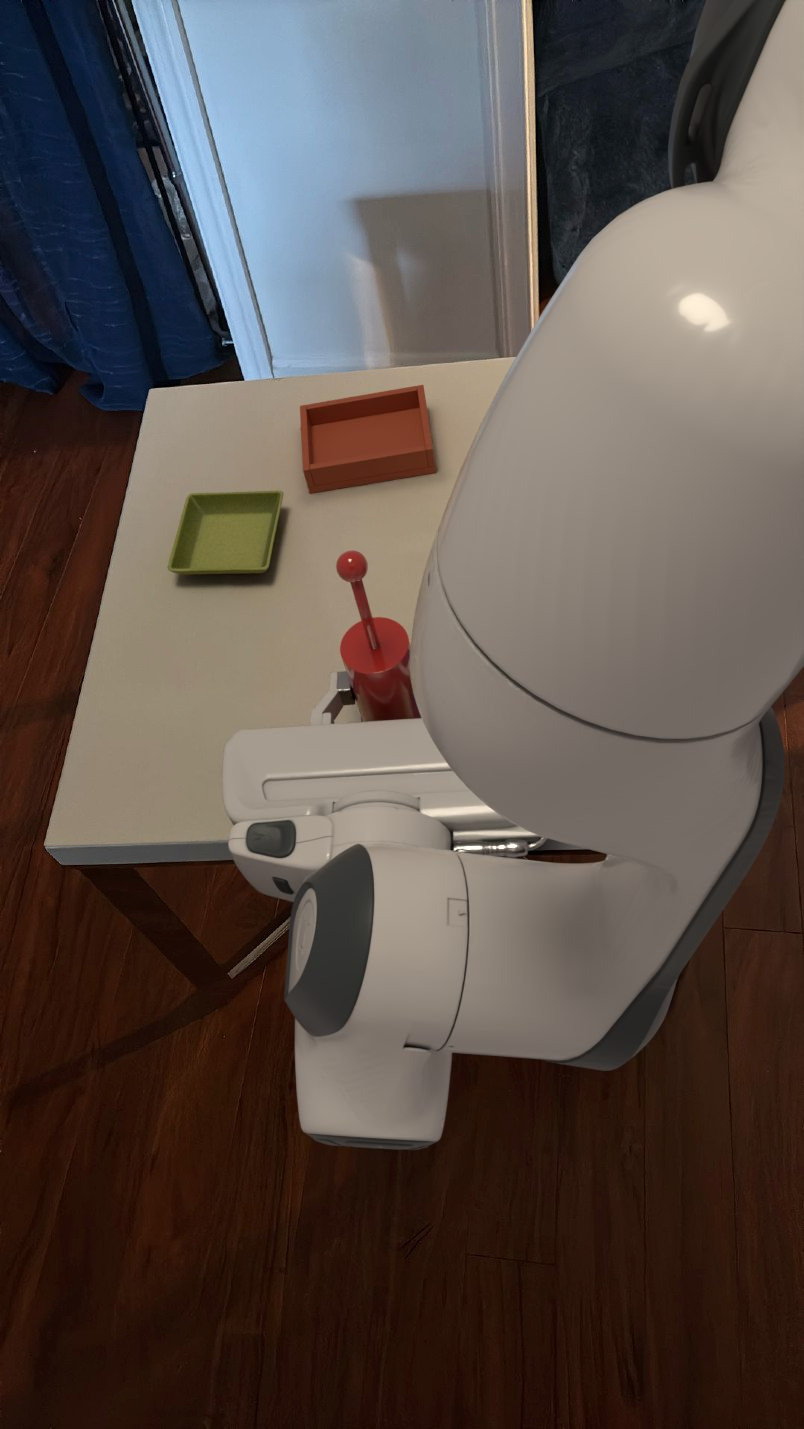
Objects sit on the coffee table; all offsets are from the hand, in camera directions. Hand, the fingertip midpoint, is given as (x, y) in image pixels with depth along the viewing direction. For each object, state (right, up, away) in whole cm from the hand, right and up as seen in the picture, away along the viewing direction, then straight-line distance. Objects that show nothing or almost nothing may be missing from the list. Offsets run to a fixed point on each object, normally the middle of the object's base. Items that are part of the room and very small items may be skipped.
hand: (385, 673), depth 70 cm
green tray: (-13, +12, +19) cm, 26 cm away
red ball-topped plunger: (+1, -4, +4) cm, 6 cm away
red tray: (-2, +21, +23) cm, 31 cm away
